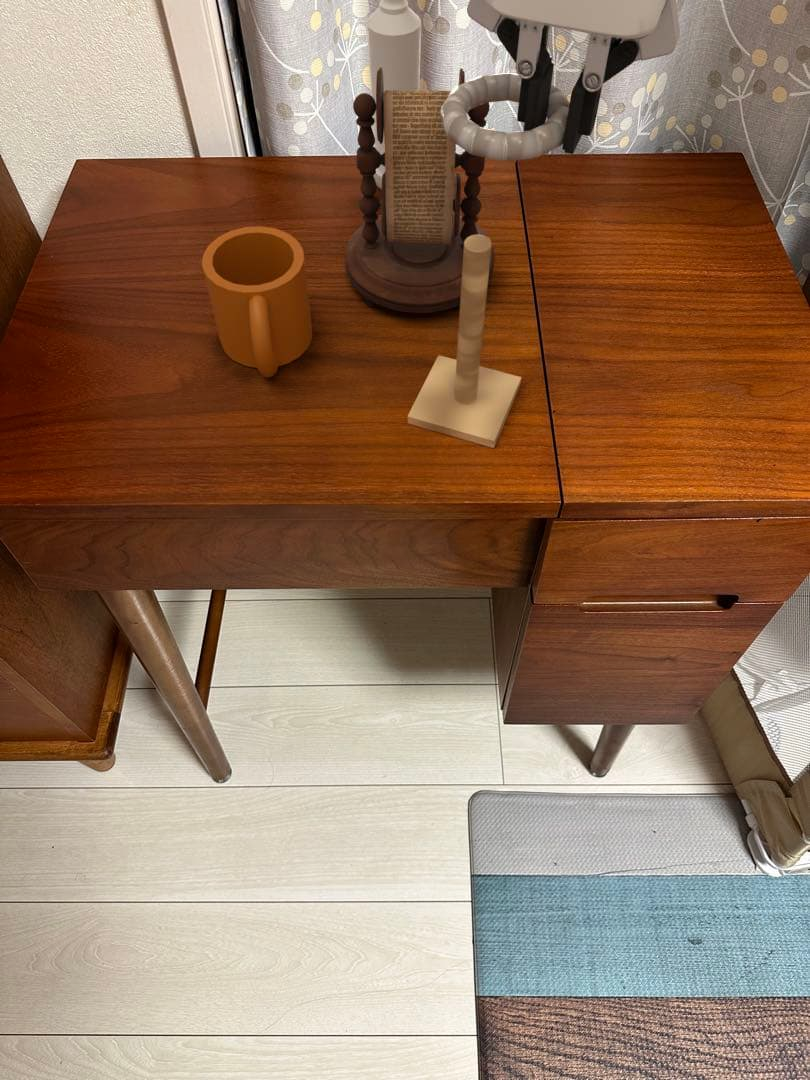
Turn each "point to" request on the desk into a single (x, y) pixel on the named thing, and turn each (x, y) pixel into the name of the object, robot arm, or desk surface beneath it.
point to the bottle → (393, 54)
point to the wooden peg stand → (467, 367)
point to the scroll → (413, 202)
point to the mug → (259, 296)
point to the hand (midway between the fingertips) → (553, 135)
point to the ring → (496, 141)
